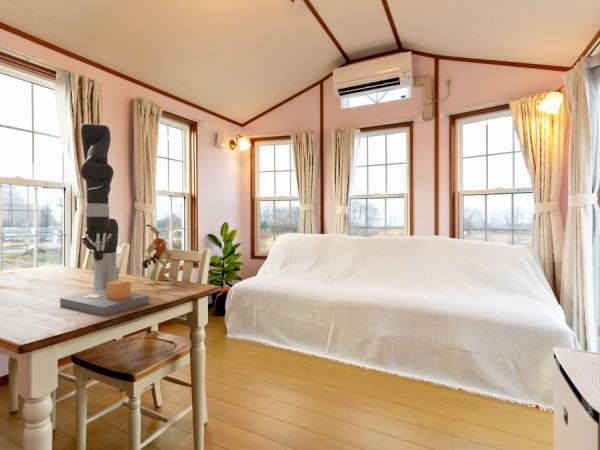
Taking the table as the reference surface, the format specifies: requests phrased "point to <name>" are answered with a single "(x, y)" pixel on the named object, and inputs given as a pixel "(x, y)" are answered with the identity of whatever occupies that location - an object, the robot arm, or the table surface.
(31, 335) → the table surface
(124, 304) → the panel
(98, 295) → the button
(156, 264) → the toy
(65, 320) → the table surface
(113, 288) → the orange cube
